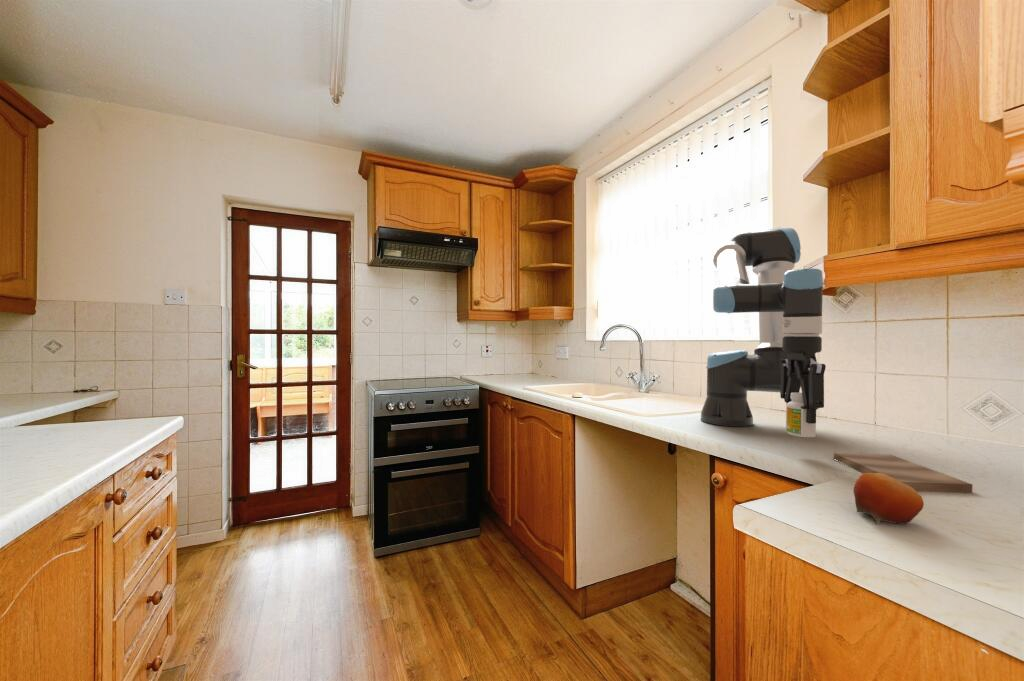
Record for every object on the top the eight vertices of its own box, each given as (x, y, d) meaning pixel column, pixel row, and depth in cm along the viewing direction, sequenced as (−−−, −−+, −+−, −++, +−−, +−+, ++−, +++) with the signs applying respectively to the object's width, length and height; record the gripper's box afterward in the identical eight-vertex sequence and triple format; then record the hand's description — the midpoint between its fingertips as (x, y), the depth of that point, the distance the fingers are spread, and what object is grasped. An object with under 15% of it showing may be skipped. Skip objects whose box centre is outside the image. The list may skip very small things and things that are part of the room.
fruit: (828, 499, 67) (852, 458, 67) (866, 523, 67) (890, 481, 67) (875, 522, 59) (903, 475, 59) (918, 548, 59) (945, 501, 59)
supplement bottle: (788, 435, 94) (788, 394, 94) (785, 430, 99) (785, 391, 99) (816, 438, 92) (817, 396, 91) (811, 433, 97) (812, 392, 96)
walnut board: (833, 459, 92) (833, 453, 92) (890, 461, 91) (890, 454, 91) (899, 489, 75) (899, 481, 75) (972, 492, 73) (972, 484, 73)
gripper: (764, 334, 104) (763, 423, 105) (808, 336, 86) (807, 443, 87) (795, 334, 103) (794, 424, 104) (847, 336, 85) (844, 444, 86)
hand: (800, 432), depth 95 cm, fingers closed on supplement bottle, 5 cm apart
